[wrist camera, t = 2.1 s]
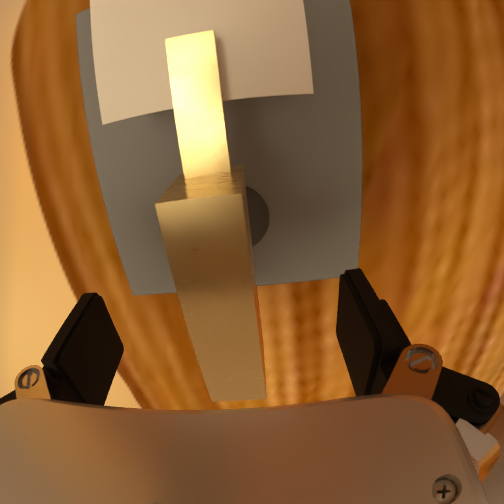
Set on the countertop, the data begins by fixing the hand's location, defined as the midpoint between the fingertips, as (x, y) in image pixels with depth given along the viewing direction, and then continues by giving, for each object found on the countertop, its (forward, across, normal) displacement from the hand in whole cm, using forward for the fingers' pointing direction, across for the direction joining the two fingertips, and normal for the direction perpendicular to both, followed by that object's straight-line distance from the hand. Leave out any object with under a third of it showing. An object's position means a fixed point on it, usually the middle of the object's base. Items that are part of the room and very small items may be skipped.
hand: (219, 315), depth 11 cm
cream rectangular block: (+8, 0, -10) cm, 13 cm away
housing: (+10, 0, -6) cm, 12 cm away
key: (+8, 0, -3) cm, 9 cm away
